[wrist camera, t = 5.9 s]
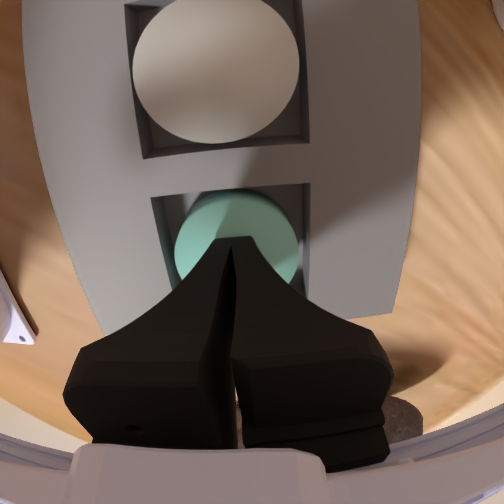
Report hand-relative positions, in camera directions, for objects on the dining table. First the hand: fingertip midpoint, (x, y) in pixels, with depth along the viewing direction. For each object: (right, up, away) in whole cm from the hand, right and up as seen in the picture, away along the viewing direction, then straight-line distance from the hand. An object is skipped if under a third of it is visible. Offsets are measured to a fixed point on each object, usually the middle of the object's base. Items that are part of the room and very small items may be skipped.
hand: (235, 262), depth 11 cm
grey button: (0, +6, -3) cm, 7 cm away
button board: (-1, +7, -1) cm, 7 cm away
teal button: (0, +1, +1) cm, 1 cm away
